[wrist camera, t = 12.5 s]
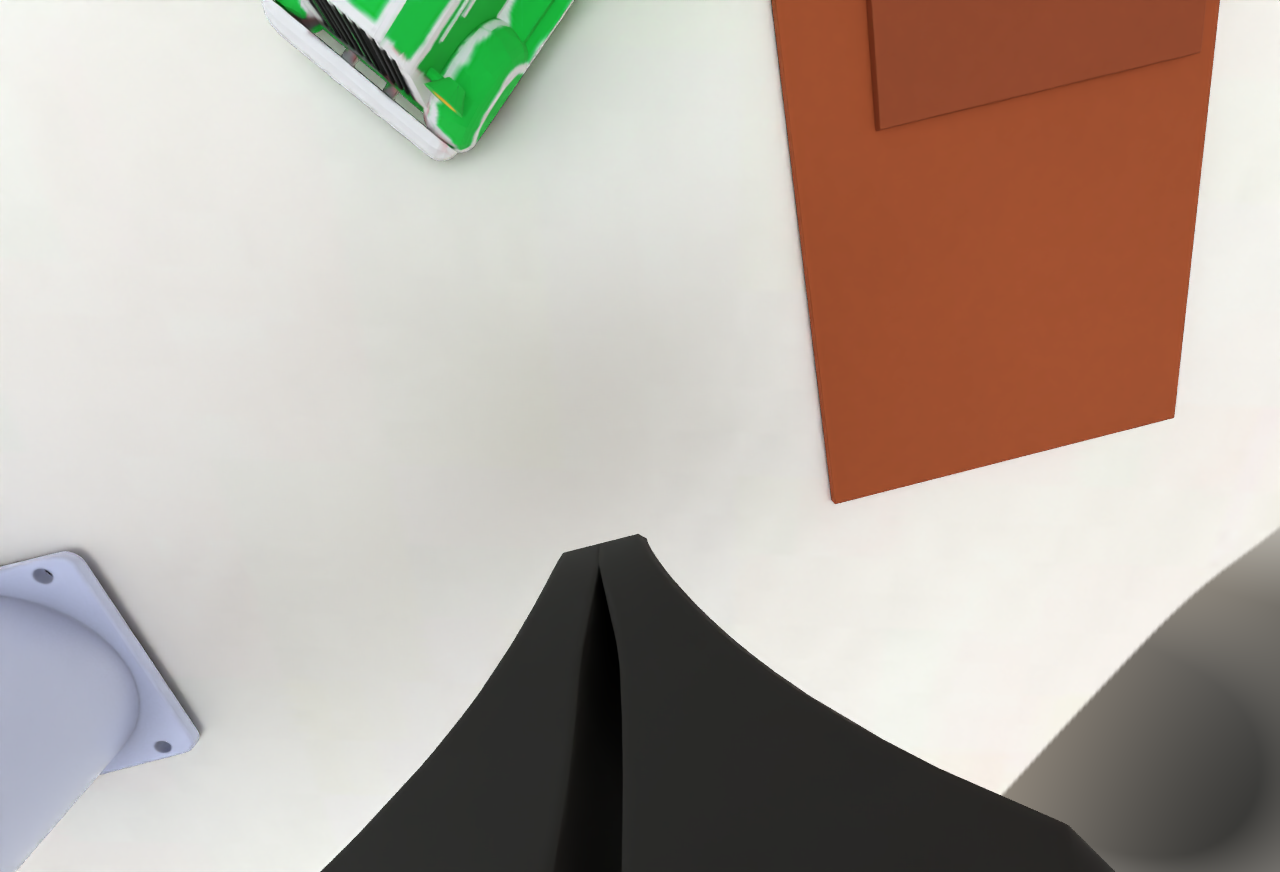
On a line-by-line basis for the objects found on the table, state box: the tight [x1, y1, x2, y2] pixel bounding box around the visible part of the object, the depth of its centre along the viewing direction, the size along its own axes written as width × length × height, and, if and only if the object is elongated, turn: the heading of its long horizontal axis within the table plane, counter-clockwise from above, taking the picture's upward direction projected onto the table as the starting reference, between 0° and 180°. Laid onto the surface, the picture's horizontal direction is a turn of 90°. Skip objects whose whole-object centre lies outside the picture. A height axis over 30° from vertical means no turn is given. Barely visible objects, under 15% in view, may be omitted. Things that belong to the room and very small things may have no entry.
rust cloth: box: [771, 0, 1220, 504], centre depth 17 cm, size 12×18×1 cm, turn 13°
